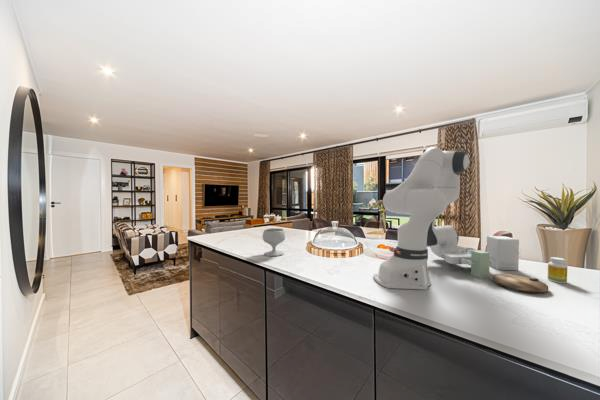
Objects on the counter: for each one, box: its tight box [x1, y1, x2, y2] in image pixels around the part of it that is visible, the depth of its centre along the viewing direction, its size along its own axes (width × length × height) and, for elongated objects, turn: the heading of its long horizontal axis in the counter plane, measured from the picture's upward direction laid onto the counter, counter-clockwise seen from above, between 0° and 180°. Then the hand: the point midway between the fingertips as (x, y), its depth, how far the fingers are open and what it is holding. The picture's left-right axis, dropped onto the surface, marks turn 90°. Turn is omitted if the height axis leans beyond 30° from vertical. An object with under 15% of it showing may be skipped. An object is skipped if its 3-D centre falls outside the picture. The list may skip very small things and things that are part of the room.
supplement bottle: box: [547, 256, 568, 284], centre depth 94 cm, size 5×5×10 cm
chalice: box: [261, 227, 286, 257], centre depth 138 cm, size 14×14×15 cm
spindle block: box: [470, 249, 491, 279], centre depth 99 cm, size 4×4×11 cm
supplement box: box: [486, 235, 520, 272], centre depth 111 cm, size 9×9×15 cm
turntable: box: [491, 273, 549, 293], centre depth 89 cm, size 16×16×2 cm
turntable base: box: [498, 284, 541, 294], centre depth 89 cm, size 13×13×1 cm
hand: (481, 263), depth 99 cm, fingers open, 8 cm apart
